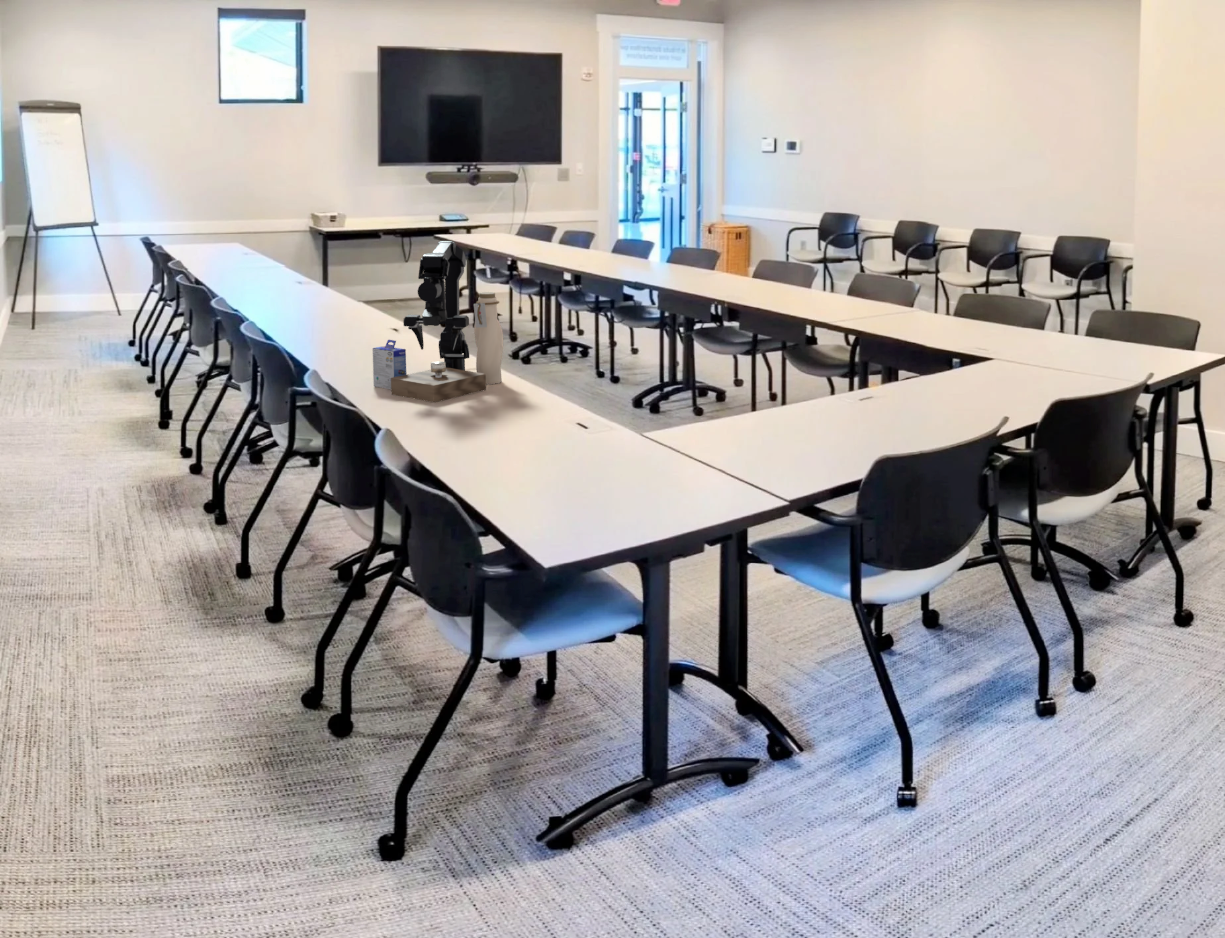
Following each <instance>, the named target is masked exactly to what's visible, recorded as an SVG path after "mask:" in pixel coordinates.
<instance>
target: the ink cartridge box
mask: <svg viewBox="0 0 1225 938" xmlns="http://www.w3.org/2000/svg"><path fill="white" fill-rule="evenodd" d="M389 343H392V344H389ZM396 343H397V340H393V339H387V341H386V344H385V346H377V347H373V348H372V373H373V374H372V375H373V379H372V380H373V387H375V388H376V387H377V388H383V389H386V390H391V378H393V377H398V376H403V375H407V353H406V351H407V350H406V349H405V348H401V347H395V345H396Z"/></svg>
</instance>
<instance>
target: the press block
mask: <svg viewBox="0 0 1225 938" xmlns="http://www.w3.org/2000/svg"><path fill="white" fill-rule="evenodd" d="M486 385H487V384H486V374H483V373H477V371H469V370H466V369H465V370H459V369H452V368H446V372H442V377H440V378H437V377H435V373H434V372H431V369H427V370H422V371H417V372H414V373H413V372H412V373H409V374H407V373H406V375H403V376H398V377H393V378H391V389H390V391H391V392H390V393H391V395H392V396H393V395H394V396H398V397H403V396H404V398H410V399H413V398H415V399H414V400H420V401H424V400H425V401H426V402H430V403H438V402H442V401H445V400H450V399H455V398H458V397H462V396H463V397H464V396H466V395H470V394H476V393H479V392H483V390H484V391H487V386H486ZM441 400H442V401H441Z"/></svg>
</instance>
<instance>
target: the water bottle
mask: <svg viewBox="0 0 1225 938" xmlns="http://www.w3.org/2000/svg"><path fill="white" fill-rule="evenodd" d="M478 294H479V296H478V298H477V299H478V300H477V301H476V302H475V303H473V310H474V325H473V330H474V331H473V332H474V333H473V334H474V340H475V345H476V348H477V349H476V360H475V361H476V362H475V363H476V364H475V368H476V372H477V373H483V374H486V385H496V384H495V383H498V384H500V383H499V382H501V383H502V381H503V380H502V368H501V367H502V360H503V356H504V355H503V353H504V332H503V327H502V325H501V322H500V321H499V320H498V308H497V306H498V304H500V301H499V300H497V297H496V292H493V291H490V292H489V291H484V292H482V291H481V292H479V293H478Z"/></svg>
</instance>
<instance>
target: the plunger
mask: <svg viewBox="0 0 1225 938" xmlns="http://www.w3.org/2000/svg"><path fill="white" fill-rule="evenodd" d="M430 370H431V372H434V373H435V377H437V378H440V377H442V372H446V363H445V362H444V361H440V360H439V361H438V360H437V361H431V362H430Z"/></svg>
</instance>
